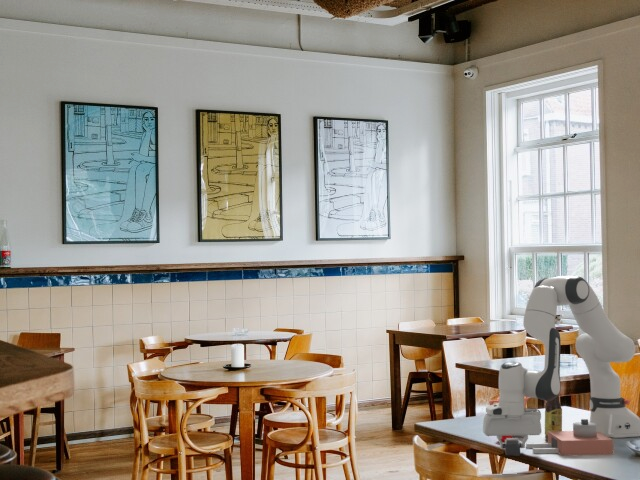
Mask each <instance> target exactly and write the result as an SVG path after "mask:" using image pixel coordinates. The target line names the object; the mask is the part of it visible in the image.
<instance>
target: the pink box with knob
mask: <svg viewBox="0 0 640 480" xmlns="http://www.w3.org/2000/svg"><path fill="white" fill-rule="evenodd" d="M589 422H590V421H589V419H588V418H587V419H586V418H581V419H580V421H577V422H573V423H572V429H573V430H565V431H564V430H562V431H548V440H547V442H540V443H539V442H538V443H537V442H536V443H534V442H533V443H531V442H529V443H527V442H526V443H525V448H526V449H532V454H559V455H561V456H583V455H584V456H585V455H587V456H588V455H589V456H591V455H594V456H595V455H600V456H601V455H614V440H613V438H612V437H607V436H605V435H603V434H601V433H600V432H598V431H597V425H596V424H595V423H589Z"/></svg>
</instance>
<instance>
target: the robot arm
mask: <svg viewBox="0 0 640 480" xmlns="http://www.w3.org/2000/svg"><path fill="white" fill-rule="evenodd" d="M559 306H561V307H562V306H569V309H570V311H571V313H572V315H573V318H574V319H575V321H576V323H577V326H578V328H579V329H580V330H581V331H582V332H583V333H582V334H580V335H579V336H578V337H577V338H576V339H575V346H574V347H575V351H576V353H577V354H578V355H579V357H581V358H582V360H583V361H584V364H585V365H586V368H587V371H588V374H589V380H590V381H589V383H590V384H589V385H590V396H589V411H590V413H589V414H590V415H589V416H590V417H589V421H588V422H589V423H595V424H596V425H597V431H598V432H600V433H601V434H603V435H605V436H607V437H609V438H612V439H617V438H620V439H621V438H635V437H640V417H639V416H638V415H637V414H636V413H634V412H633V411H632V410H631V409H629V408H628V407H626V405H629V406H630V399H628V398H624V397H621V392H622V391H621V390H622V389H621V378H620V375H619V374H618V373H617V372H616V371H615V370H614V368H612V365H611V363H616V364H620V363H621V364H622V363H627V362H630V361H631V360H632V359H633V358H634V357H635V354H636V346H635V342H634V341H633V339H632V338H630V337H628V335H625V334H624V333H623V332H622V331H620V330H619V329H618V327H616V326H615V325H614V323H613V322H612V321H611V319H609V317H608V316H607V314H606V311H605V310H604V308H603V306H602V304H601V302H600V300H599V297H598V296H597V294H596V293H595V291H594V289H593V287H592V286H591V285H590V283H588V281H587V280H586V279H585V278H583V277H582V276H579V275H558V276H554V277H553V276H552V277H544V278H541V279H539V280H537V281H536V283H535V285H534V288H533V289H532V291H531V293H530V295H529V298H528V301H527V304H526V307H525V310H524V315H523V320H522V321H523V328H524V330H525V331H526V332H527V334H528V335H529V336H531V337H532V338H534V339H535V340H538V342H541V343H542V344H543V346H544V351H545V352H544V367H543V370H542V371H541V370H532V369H528V368H525V367H523V365H522V363H521V362H519V361H507V362H504V363H502V364H501V365H500V367H499V372H498V392H499V396H498V397H499V403H496V402H495V403H493V405H490V404H489V405H487V406H486V407H485V412H486V414H485V415H484V417H483V420H482V421H483V422H482V432H483V434H484V435H485V436H487V437H493V436H494V437H496V439H497V441H498V442H499V447H500V449H505V443H502V441H501V439H502V436H517V435H522V441H519V442H520V449H525V448H526V443H527V441H528V440H529V436H540V435H541V433H542V426H541V425H542V424H541V419H542V412H541V411H540V409H538V408H535V407H534V408H533V407H532V408H527V407H526V408H525V407H524V399H525V398H526V397H530V398H529V399H531V398H532V399H538V400H542V401H545V402H547V401H551V400H553V399H554V398H556V397H557V396H558V394H559V395H560V392H561V390H562V389H561V388H562V383H561V375H560V371H561V344H562V343H561V341H562V340H561V334H560V332H559V331H558V329H557V327H556V317H557V310H558V307H559Z"/></svg>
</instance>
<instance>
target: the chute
mask: <svg viewBox="0 0 640 480" xmlns="http://www.w3.org/2000/svg"><path fill="white" fill-rule="evenodd" d="M520 442H521V441H520V440H519V437H515V438H514V437H513V438H506V440H505V448H504V451H505V453H504V454H505V456H521V448H520Z"/></svg>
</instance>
